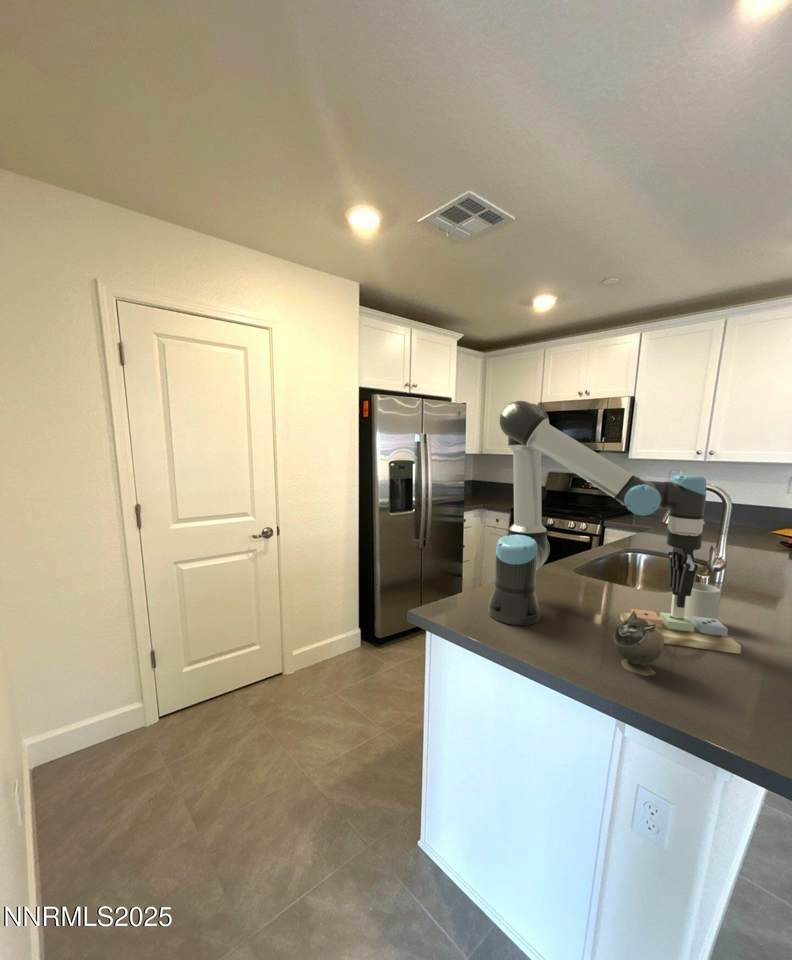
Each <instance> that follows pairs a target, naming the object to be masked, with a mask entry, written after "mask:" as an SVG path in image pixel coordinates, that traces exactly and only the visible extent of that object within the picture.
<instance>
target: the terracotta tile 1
mask: <svg viewBox="0 0 792 960" xmlns="http://www.w3.org/2000/svg"><path fill="white" fill-rule="evenodd" d="M633 611H635V614H637V615H636V616H637V617H639V618H642V619H645V620H647V621H649V622H651V623H653V624H654V625H656V626H657V627H661V626H662V620H661V619H660V618H659V617H660V615H658V614H657V612H655V611H652V610H643V609H637V608H630V611H629V613H630V615H631V614H632V613H633Z"/></svg>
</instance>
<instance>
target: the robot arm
mask: <svg viewBox="0 0 792 960" xmlns="http://www.w3.org/2000/svg"><path fill="white" fill-rule="evenodd" d="M499 426H500V429H501V431H502V433H503V434H504V435H505V436H507V439H508V440H507V441H508V448H509V449H511V450H512V453H513V455H512V458H513V459H512V461H513V462H512V463H513V464H512V466H513V468H512V469H513V524H512V525H511V526H510V527H509V530H508V531H509V535H504V536H502V537H500V538H499V539H498V540H497V542H496V548H495V570H494V571H495V576H494V578H495V579H494V588H493V590H492V594H491V595H490V598H489V600H488V604H487V613H488V615H489V616H490V617H491V618H492V619H494V620H495V621H498V622H501V623H503V624H509V625H513V626H530V625H534V624H536V623H538V622H539V621H540V618H541V616H540V615H541V610H540V607H539V602H538V599H537V595H536V580H537V578H536V576H537V575H536V574H537V570H539V569H540V568H541V567H542V566H543V565H544V564H545V563H547V560H548V558H549V556H550V552H551V551H550V550H551V547H550V542H549V541H548V537H547V534H548V530H547V528H546V527H545V526H544V525H543V524H542V521H543V520H542V519H543V518H542V517H543V516H542V515H543V514H542V454H544V455H546V456H548V458H550V459H552V460H553V461H555V462H557V463H558V464H560V465H561V466H563V467H565V469H567V470H569V471H570V472H572V473H573V474H575V475H577V476H579V477H580V478H582V479H583V480H585V481H586V482H588V483H589V484H591V485H593V486H594V487H596V488H598V489H599V490H601V491H602V492H604V493H606V494H607V495H609V496H610V497H612V498H613V499H615V500H616V501H618V503H620V505H621V506H625V508H627V510H628V511H629V512H631V513H632V514H635V515H638V516H649V515H651V514H653V513H655V512H656V511H657V510H658V509H661V510H669V513H668V519H667V520H668V522H667V529H668V532H667V537H666V544H667V545H668V546H669V547H672V551H668V552H667V555H668V575H669V576H668V577H669V578H668V579H669V580H668V581H669V582H668V583H669V585H668V586H669V587H670V588H671V592H672V594H671V596H672V597H671V606H670V613H671V616H672V617H675V618H683V619H684V614H685V603H686V596H691V592H692V587H693V583H694V582H695V578H696V574H697V571H698V570H699V565H698V563H694V562H695V556H694V551H698V550H700V549H702V544H703V543H702V541H703V536H702V535H701V534H702V533H703V528H704V526H705V524H706V522H705V521H704V517H705V508H706V501H707V500H706V499H707V498H706V497H707V479H706V478H705V477H703V476H701V475H691V474H690V475H689V474H688V475H687V474H674V475H673V476H672V478H671V481H656V480H643V479H641V478H639V477H637V476H636V475H634V474H633V473H630V472H628V471H627V470H626V469H624V468H622V467H621V466H619V465H618V464H616V463H614V462H612V461H610V460H609V459H607V458H606V457H604V456H603V455H601V454H599V453H597V451H594V450H592V449H591V448H589V447H587V446H586V445H585V444H582V443H581V442H579V441H578V440H576V439H574V438H573V437H571V436H569V434H566V433H565V432H563V431H561V430H560V429H558V428H556V427H554V426H553V425H551V424H550V419H549V415H548V414H547V412H546V411H545V409H543V408H542V407H541V406H540V405H539V404H535V403H530V402H529V401H524V400H516V401H512V402H510V403H508V404H507V405H506V406H505V407H504V408H503V410H502V411H501V414H499Z"/></svg>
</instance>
